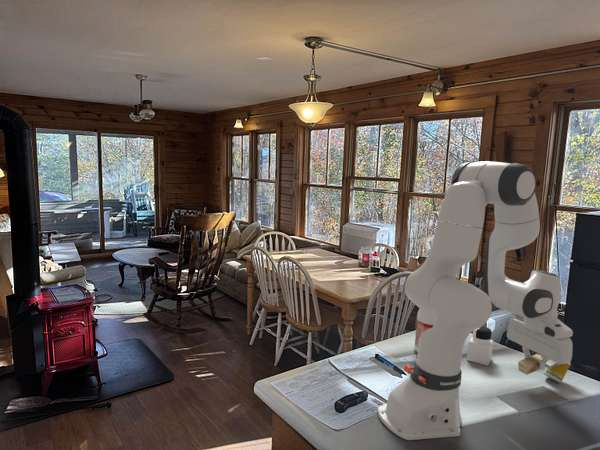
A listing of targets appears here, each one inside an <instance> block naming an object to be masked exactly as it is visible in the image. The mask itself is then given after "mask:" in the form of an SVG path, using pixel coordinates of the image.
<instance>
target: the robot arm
mask: <svg viewBox="0 0 600 450" xmlns="http://www.w3.org/2000/svg"><path fill="white" fill-rule="evenodd" d="M450 184H451V185H450V186H449V187H448V189H447V190H446V193H445V195H444V198H443V201H442V203H441V206H440V209H439V212H438V213H439V214H438V217H437V223H436V226H435V227H436V228H435V232H434V236H433V240H432V245H431V248H430V251H429V253H428V255H427V257H426V259H425V260H424V261H423V263H422V264H421V266H420V267H418V268H417V269H415V270H414V271H412V272H411V273H409V274H408V276H407V277H406V280H405V283H404V292H405V293H404V294H405V296H406V297H407V298H408V300H410V301H411V302H412V303H413V304H414V305H415V306H417V307H418V308H419V309H420V308H421V309H423V310H425V311H427V312H429V313H431V314H433V315H434V316H435V322H434V325H433V327H432V328H430V329H428V330H426V331H424V332H423V333H422V334H421V335H420V337H419V346H418V352H417V360H416V361H415V363H414V365H413V366H411V365H410V364H408V363H407V364H404V366H403V371H404V372H405V373H407V374H408V375H409V377H407V378H406V379H405V380H404V381H402V382H401V383H400V384H398V385H397V386H396V387H395V388H394V389H393V390H391V391H390V393H389V395H388V398H387V401H386V403H385V404H382V405H379V406H378V407H377V415H378V417H379V420H380V421H381V422H382V423H383V424H384V426H385V427H387V428H388V429H389V430H390V431H391V432H392V433H393V434H395V435H396V436H398V437H399V438H402V439H404V440H406V441H414V440H416V441H417V440H427V439H439V438H451V437H460V436H461V428H460V427H461V425H462V421H463V420H462V416H461V411H460V410H461V409H460V389H459V388H460V386H461V384H462V369H461V365H462V358H463V351H464V346H465V342H466V340H467V339H468V337H469V335H470V334H471V333H473V330H475V329H478V328H480V327H482V326H484V325H486V324H487V322H488V321H489V320H490V317H491V315H492V310H493V308H495V309H498V310H499V309H501V310H503V311H506V312H508V313H510V314H511V315H510V317H509V318H510V319H509V322H508V325H507V330H506V337H507V339H508V340H510V341H511V342H514V343H516V344H519V345H520V346H522V348H521V349H522V352H523V354H524V359H526V358H528V357H531V356H532V355H531V351H533V352H535V353H536V354H538V355H540V354H541V358H543V359H542V360H541V361H537V367H539V368H541V369H545V368H546V367H545V363H546V362H547V361H548V360H549V359H551V360H553V361H555V362H557V363H559V364H566V363H569V362H570V363H571V361H572V358H573V346H574V345H573V341H572V339H571V337H573V334H574V332H573V329H571V328H570V327H569V326H568V325H567V324H564V323H563V322H562V321H561V320H560V319H559V318H558V316H559V313H558V306H559V304H560V302H561V301H560V300H561V291H562V290H561V289H562V287H561V286H562V283H561V277H560V276H559V275H558V274H555V273H554V272H550V271H549V272H548V271H544V270H542V269H541V270H540V269H534V270H532V271H531V274H530V276H529V279H528V280H526V281H524V282H520V281H517V280H514V279H510V277H508V276H507V275H506V274H505V267H506V256H507V255H506V254H507V252H508V251H511V250H518V249H520V248H524V247H526V246H528V245H530V244H532V243H533V242H534V241H535V240H536V239H537V238H538V236H539V233H540V228H541V227H540V226H541V225H540V224H541V222H540V213H539V212H540V211H539V206H538V205H539V204H538V199H537V195H536V192H535V191H536V189H537V176H536V174H535V173H534V171H533V169H531V167H530V166H528V165H526V164H523V163H522V164H521V163H518V162H512V163H511V162H510V163H509V162H502V161H495V160H494V161H493V160H492V161H491V160H485V161H484V160H483V161H468V162H467V161H466V162H464V163H461V164H460V165H459V166H458V167H456V169H455V170H454V172H453V174H452V178H451V183H450ZM488 204H489V205H490V204H493V206H494V207H493V211H494V229H493V230H492V231H491V232H490V233H489V234H488V236H487V240H486V247H485V261H484V263H485V264H484V279H483V283H482V288H481V289H480V288H479V287H477V286H475V285H473V284H472V283H468V282H466V281H463V280H460V279H457V276H458V273H459V271H460V270H461V269H462V267H463V266H464V265H467V264H469V263H472V262H473V261H474V260H475V259H476V257H477V256H478V253H479V247H480V242H481V237H482V233H483V229H484V224H485V216H486V215H485V214H486V207H487V206H488ZM530 350H531V351H530ZM541 369H540V370H541Z"/></svg>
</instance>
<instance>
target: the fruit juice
mask: <svg viewBox="0 0 600 450" xmlns="http://www.w3.org/2000/svg"><path fill="white" fill-rule="evenodd" d="M434 322H435V316H434V315H433V314H431V313H429V312H427V311H425V310H423V309H421V308H419V309H418V311H417V315H416V328H415V339H414V350H415V352H416V353H418V346H419V337H420V335H421V334H422V333H423V332H424V331H426V330H428V329H430V328H432V327H433V325H434Z"/></svg>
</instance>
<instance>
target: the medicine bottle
mask: <svg viewBox="0 0 600 450" xmlns="http://www.w3.org/2000/svg"><path fill="white" fill-rule="evenodd" d="M492 332H493V331H492V329H491V328H489V327H487V326H484V325H483V326H482V327H480V328H478V329H475V330H473V331H472V336H471V337H470V339H469V340H468V346H467V354H466V355H467V356H466V360H467V361H469V362H473V363H475V364H480V365H483V366H489V365H490V362H491V360H492V356H493V346H494V339H492Z"/></svg>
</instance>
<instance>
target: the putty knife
mask: <svg viewBox="0 0 600 450" xmlns="http://www.w3.org/2000/svg"><path fill="white" fill-rule="evenodd" d="M542 359H543V358H541V354H539V353H536V354H533V355H531V357H528V358H526V359H525V358H524V359H521V360H518V361H517V363H518V366H517V367H518V371H519V372H521V373H522V374H525V375H529V374H532V373H534V372H537V371H539V370H541V368H539V367H537V361H541V360H542ZM558 365H560V364H559V363H557V362H555V361H553V360H551V359H549V360H548V361H547V362H546V363H545V368H546V367H547V368H549V369H551V368H553V367H556V366H558Z"/></svg>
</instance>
